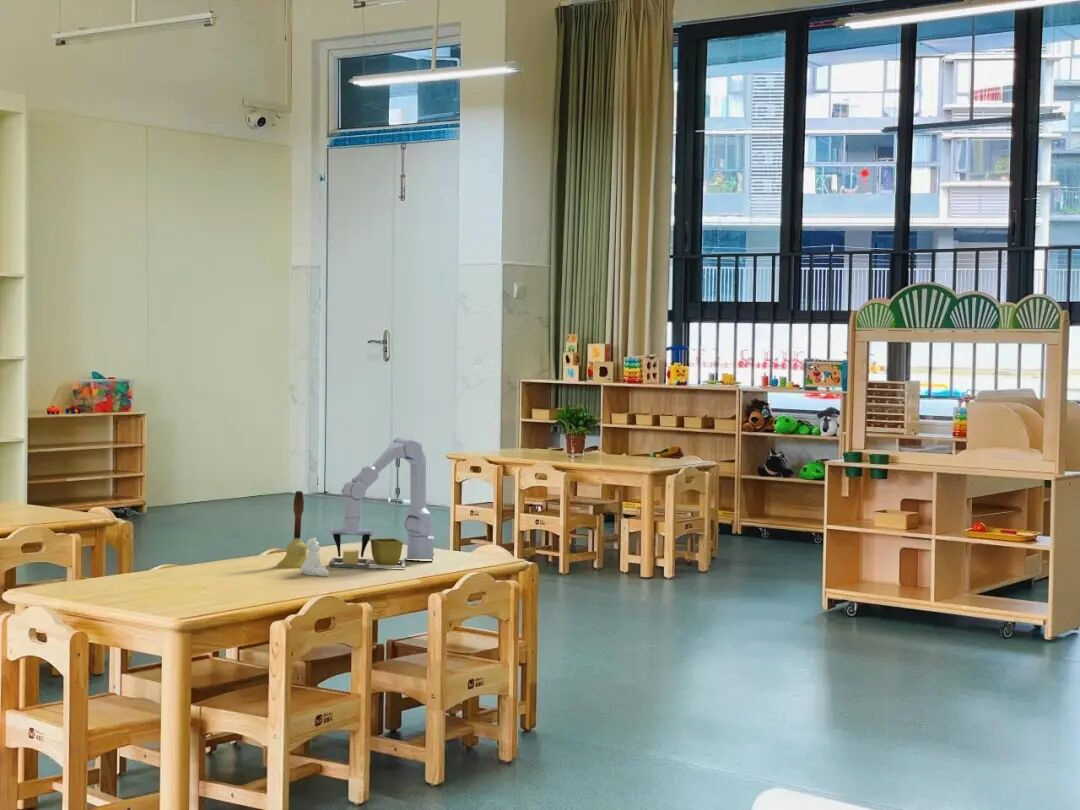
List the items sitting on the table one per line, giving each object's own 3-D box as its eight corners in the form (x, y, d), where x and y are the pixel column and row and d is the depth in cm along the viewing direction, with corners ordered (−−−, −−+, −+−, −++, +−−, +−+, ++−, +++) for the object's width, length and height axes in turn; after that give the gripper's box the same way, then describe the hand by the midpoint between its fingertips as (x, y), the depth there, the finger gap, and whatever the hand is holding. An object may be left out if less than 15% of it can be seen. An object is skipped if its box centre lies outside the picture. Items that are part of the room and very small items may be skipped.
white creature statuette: (329, 577, 423) (331, 540, 422) (302, 577, 420) (304, 539, 420) (325, 572, 432) (326, 535, 431) (298, 572, 429) (300, 535, 429)
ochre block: (357, 564, 451) (358, 549, 451) (357, 566, 446) (358, 551, 446) (342, 563, 450) (343, 549, 450) (343, 566, 445) (343, 551, 445)
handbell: (287, 561, 450) (290, 488, 449) (320, 564, 446) (323, 491, 445) (270, 566, 438) (274, 491, 437) (304, 569, 434) (307, 494, 434)
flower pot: (369, 564, 451) (370, 538, 451) (392, 563, 455) (393, 537, 455) (378, 568, 444) (379, 542, 443) (402, 567, 448) (403, 541, 447)
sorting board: (404, 563, 457) (404, 560, 457) (404, 569, 444) (405, 566, 444) (331, 561, 454) (332, 557, 454) (330, 567, 441) (330, 563, 441)
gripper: (373, 515, 453) (371, 555, 453) (330, 514, 450) (329, 554, 451) (374, 518, 446) (372, 558, 446) (331, 517, 443) (329, 557, 444)
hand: (350, 556), depth 448 cm, fingers open, 7 cm apart
